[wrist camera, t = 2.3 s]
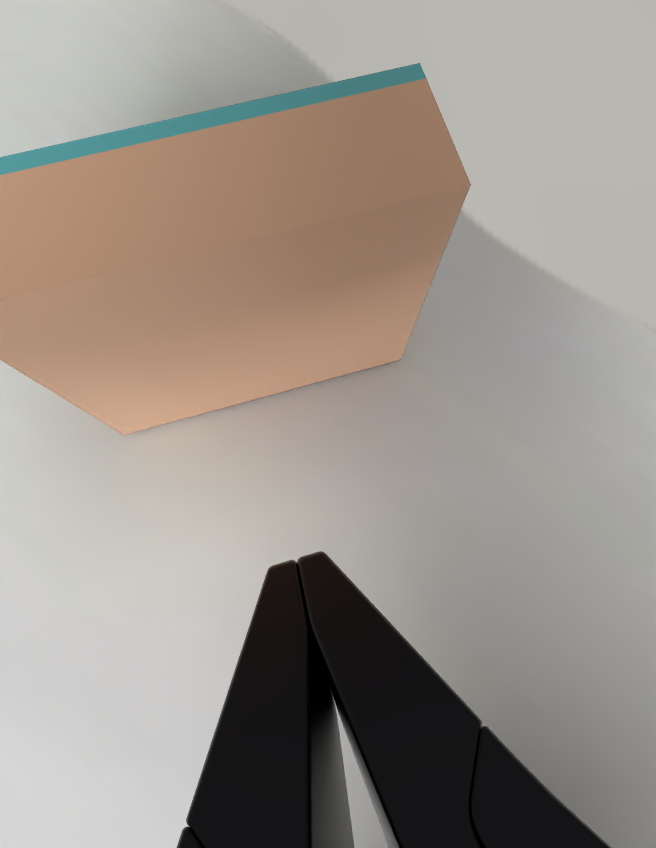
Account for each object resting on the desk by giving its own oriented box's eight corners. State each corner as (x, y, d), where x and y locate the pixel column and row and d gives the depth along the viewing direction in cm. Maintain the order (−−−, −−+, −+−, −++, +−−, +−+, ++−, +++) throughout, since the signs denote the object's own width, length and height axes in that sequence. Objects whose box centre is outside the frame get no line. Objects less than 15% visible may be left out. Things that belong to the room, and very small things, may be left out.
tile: (400, 359, 18) (470, 184, 10) (123, 435, 18) (-69, 318, 9) (375, 287, 19) (419, 63, 10) (108, 356, 18) (-85, 176, 10)
